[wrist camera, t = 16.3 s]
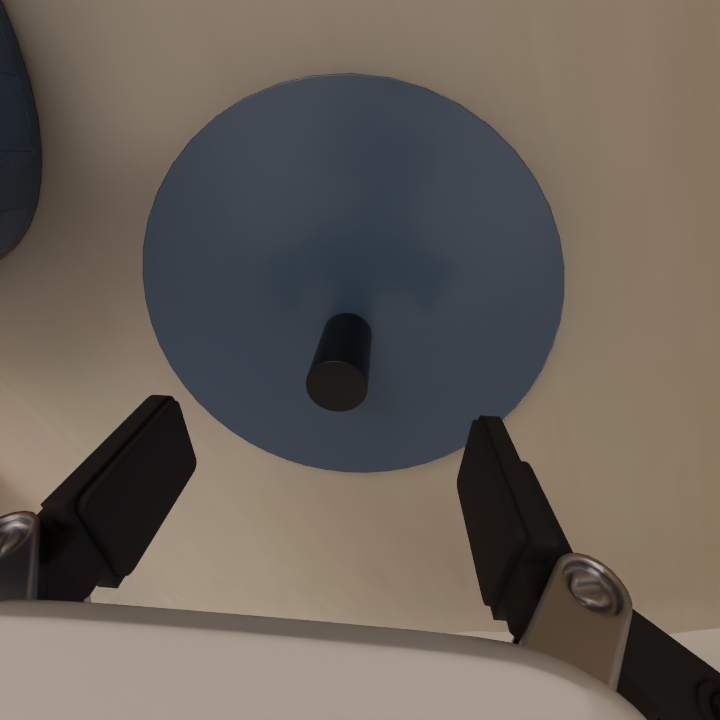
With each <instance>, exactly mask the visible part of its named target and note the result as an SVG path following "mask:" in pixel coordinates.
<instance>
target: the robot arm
mask: <svg viewBox="0 0 720 720" xmlns="http://www.w3.org/2000/svg"><path fill="white" fill-rule="evenodd" d="M195 468H196V457H195V454H194V451H193V447H192V444H191V441H190V437H189V434H188V431H187V427H186V424H185V421H184V418H183V414H182V411H181V408H180V404H179V402H178V401H175V400H174V398H173V397H172V396H164V395H151V396H149V397H148V398H147V399H146V400H145V401H144V402H143V403H142V404H141V405H140V406H139V407H138V408H137V409H136V410H135V411H134V412H133V413H132V414H131V415H130V416H129V417H128V418H127V419H126V420H125V421H124V422H123V423H122V424H121V425H120V426H119V427H118V428H117V429H116V430H115V431H114V432H113V433H112V434H111V435H110V436H109V437H108V438H107V439H106V440H105V441H104V442H103V443H102V444H101V445H100V446H99V447H98V448H97V449H96V450H95V451H94V452H93V453H92V454H91V455H90V456H89V457H88V458H87V459H86V460H85V461H84V462H83V463H82V464H81V465H80V466H79V467H78V468H77V469H76V470H75V471H74V472H73V473H72V474H71V475H70V476H69V477H68V478H67V479H66V480H65V481H64V482H63V483H62V484H61V485H60V486H59V487H58V488H57V489H56V490H55V491H54V492H53V493H52V494H51V495H50V496H48V497H47V498H46V499H45V500H44V501H43V502H42V503H41V504H40V505H41V506H42V507H43V509H42V510H41V511H40V512H39V513H38V514H37V515H36V514H35V513H34V512H29V511H19V512H13V513H10V514H7V515H3V516H1V517H0V720H720V673H719V672H718V671H716V670H715V669H714V668H712V667H711V666H710V665H708V664H707V663H706V662H704V661H703V660H701V659H700V658H698V657H697V656H696V655H695V654H693V653H692V652H690V651H689V650H688V649H687V648H685V647H684V646H682V645H681V644H680V643H678V642H677V641H676V640H674V639H673V638H672V637H670V636H669V635H668V634H666V633H665V632H663V631H662V630H661V629H659V628H658V627H657V626H655V625H654V624H653V623H651V622H650V621H649V620H647V619H646V618H644V617H643V616H642V615H640V614H639V613H638V612H636V611H635V610H634V609H632V601H631V598H630V595H629V592H628V590H627V589H626V587H625V586H624V584H623V583H622V581H621V580H620V579H619V578H618V577H617V576H616V574H615V573H614V572H613V571H612V570H611V569H609V568H608V567H607V566H605V565H604V564H603V563H601V562H600V561H598V560H596V559H594V558H592V557H590V556H588V555H584V554H580V553H573V551H572V549H571V547H570V545H569V543H568V541H567V539H566V537H565V535H564V533H563V531H562V529H561V527H560V525H559V523H558V521H557V519H556V517H555V514H554V512H553V510H552V508H551V506H550V504H549V502H548V500H547V498H546V496H545V494H544V492H543V490H542V488H541V486H540V484H539V482H538V480H537V478H536V476H535V473H534V471H533V469H532V468H531V466H530V465H529V464H528V463H527V462H524V461H521V460H520V458H519V456H518V454H517V451H516V449H515V447H514V445H513V443H512V441H511V438H510V436H509V434H508V432H507V430H506V428H505V425H504V423H503V421H502V419H501V418H500V417H499V416H484V415H481V416H479V418H478V420H473V421H472V424H471V428H470V432H469V436H468V439H467V443H466V447H465V451H464V455H463V458H462V462H461V466H460V470H459V474H458V478H457V489H458V494H459V498H460V503H461V507H462V512H463V516H464V520H465V525H466V529H467V534H468V538H469V542H470V547H471V551H472V556H473V560H474V564H475V569H476V573H477V578H478V582H479V586H480V591H481V595H482V599H483V602H484V604H485V605H486V606H490V607H491V611H492V615H493V619H494V620H502V621H507V624H508V628H509V632H510V633H511V634H512V635H513V636H514V637H513V640H512V642H511V643H509V642H504V641H498V640H491V639H485V638H479V637H472V636H463V635H454V634H445V633H436V632H427V631H418V630H408V629H397V628H386V627H375V626H364V625H353V624H342V623H331V622H320V621H309V620H297V619H285V618H274V617H262V616H251V615H239V614H227V613H215V612H203V611H191V610H179V609H166V608H154V607H141V606H128V605H116V604H103V603H91V597H90V594H91V593H92V591H93V590H94V588H95V587H96V585H97V586H98V587H108V588H118V587H119V585H120V583H121V582H122V580H123V579H124V577H125V576H128V575H129V574H131V573H132V571H133V570H134V569H135V567H136V565H137V564H138V562H139V561H140V559H141V557H142V556H143V554H144V552H145V551H146V549H147V547H148V546H149V544H150V543H151V541H152V539H153V538H154V536H155V534H156V533H157V531H158V530H159V528H160V526H161V525H162V523H163V521H164V520H165V518H166V516H167V515H168V513H169V512H170V510H171V508H172V507H173V505H174V503H175V502H176V500H177V499H178V497H179V495H180V494H181V492H182V490H183V489H184V487H185V486H186V484H187V482H188V481H189V479H190V477H191V476H192V474H193V472H194V471H195Z"/></svg>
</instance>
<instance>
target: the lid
mask: <svg viewBox="0 0 720 720" xmlns="http://www.w3.org/2000/svg"><path fill="white" fill-rule="evenodd" d="M143 281H144V290H145V298H146V303H147V307H148V311H149V315H150V319H151V323H152V326H153V328H154V331H155V334H156V336H157V339H158V341H159V344H160V346H161V348H162V350H163V352H164V354H165V356H166V358H167V360H168V361H169V363H170V365H171V367H172V369H173V370H174V371H175V373H176V374H177V376H178V377H179V379H180V380H181V382H182V383H183V385H184V386H185V387H186V388H187V390H188V391H189V392H190V393H191V394H192V395H193V397H194V398H195V399H196V400H197V401H198V402H199V403H200V404H201V405H202V406H203V407H204V408H205V409H206V410H207V411H208V412H209V413H210V414H211V415H212V416H213V417H214V418H215V419H217V420H218V421H219V422H220V423H222V424H223V425H224V426H226V427H227V428H228V429H229V430H231V431H232V432H234V433H235V434H237V435H238V436H240V437H241V438H243V439H245V440H246V441H248V442H249V443H251V444H253V445H255V446H257V447H259V448H261V449H263V450H265V451H267V452H269V453H271V454H274V455H276V456H279V457H281V458H284V459H286V460H289V461H293V462H296V463H299V464H303V465H306V466H311V467H315V468H320V469H325V470H333V471H341V472H364V473H367V472H383V471H391V470H397V469H404V468H409V467H413V466H416V465H420V464H424V463H428V462H430V461H433V460H436V459H439V458H441V457H444V456H447V455H449V454H451V453H453V452H455V451H457V450H459V449H461V448H463V447H465V446H466V443H467V439H468V436H469V432H470V428H471V424H472V421H473V420H478V418H479V416H481V415H484V416H499V417H500V418H501V419H502V420H503V419H504V418H505V417H506V416H507V415H508V414H509V413H510V412H511V411H512V410H513V409H514V408H515V407H516V406H517V405H518V403H519V402H520V401H521V400H522V398H523V397H524V396H525V395H526V394H527V392H528V391H529V390H530V388H531V387H532V385H533V384H534V382H535V380H536V379H537V377H538V376H539V374H540V372H541V371H542V369H543V367H544V365H545V363H546V360H547V358H548V356H549V354H550V352H551V349H552V347H553V344H554V341H555V338H556V334H557V331H558V327H559V324H560V320H561V313H562V306H563V300H564V262H563V256H562V249H561V243H560V237H559V233H558V230H557V227H556V224H555V221H554V218H553V215H552V212H551V208H550V206H549V204H548V202H547V200H546V198H545V196H544V194H543V192H542V190H541V188H540V186H539V184H538V182H537V180H536V178H535V177H534V176H533V174H532V173H531V171H530V170H529V169H528V167H527V166H526V165H525V163H524V162H523V160H522V159H521V158H520V156H519V155H518V154H517V152H516V151H515V150H514V149H513V148H512V147H511V146H510V145H509V144H508V143H507V142H506V141H505V140H504V139H503V138H502V137H501V136H500V135H499V134H498V133H497V132H496V131H495V130H494V129H493V128H492V127H491V126H490V125H488V124H487V123H486V122H484V121H483V120H481V119H480V118H478V117H477V116H476V115H474V114H473V113H471V112H470V111H469V110H467V109H466V108H464V107H463V106H461V105H460V104H458V103H456V102H454V101H452V100H450V99H448V98H446V97H443V96H441V95H439V94H437V93H435V92H433V91H431V90H429V89H427V88H424V87H420V86H417V85H414V84H410V83H407V82H403V81H400V80H396V79H393V78H389V77H380V76H371V75H362V74H354V73H347V74H330V75H313V76H309V77H305V78H301V79H296V80H292V81H288V82H284V83H279V84H276V85H274V86H272V87H269V88H267V89H264V90H262V91H260V92H257V93H255V94H253V95H250V96H248V97H246V98H244V99H242V100H241V101H239V102H238V103H236V104H235V105H233V106H231V107H230V108H228V109H227V110H225V111H224V112H222V113H221V114H219V115H218V116H216V117H215V118H214V119H213V120H212V121H211V122H209V123H208V124H207V125H206V126H205V127H204V128H203V129H202V130H201V131H200V132H199V133H198V134H197V135H195V136H194V137H193V138H192V139H191V140H190V142H189V143H188V144H187V146H186V147H185V148H184V150H183V151H182V152H181V153H180V155H179V156H178V157H177V159H176V160H175V161H174V163H173V164H172V166H171V167H170V169H169V171H168V173H167V175H166V177H165V179H164V181H163V182H162V184H161V186H160V188H159V190H158V192H157V195H156V198H155V201H154V204H153V207H152V210H151V213H150V216H149V218H148V223H147V229H146V235H145V241H144V246H143Z"/></svg>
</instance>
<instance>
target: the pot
mask: <svg viewBox="0 0 720 720" xmlns="http://www.w3.org/2000/svg"><path fill="white" fill-rule="evenodd" d="M40 182H41V144H40V135H39V127H38V118H37V113H36V109H35V104H34V100H33V95H32V91H31V86H30V82H29V78H28V75H27V72H26V68H25V65H24V62H23V59H22V56H21V53H20V50H19V47H18V44H17V41H16V38H15V35H14V32H13V30H12V27H11V25H10V23H9V20H8V18H7V15H6V13H5V11H4V8H3V6H2V3H1V1H0V260H1V259H2V258H4V257H5V256H6V255H7V254H8V253H9V252H10V251H11V250H12V249H13V248H14V247H15V246H16V245H17V244H18V243H19V242H20V240H21V239H22V237H23V235H24V234H25V232H26V230H27V229H28V227H29V225H30V223H31V220H32V217H33V214H34V211H35V208H36V206H37V201H38V194H39V188H40Z"/></svg>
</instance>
